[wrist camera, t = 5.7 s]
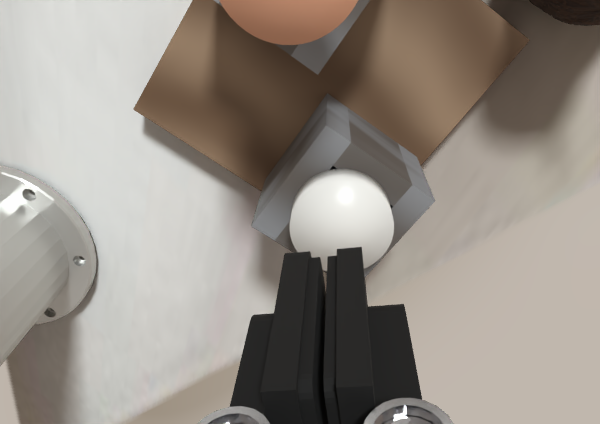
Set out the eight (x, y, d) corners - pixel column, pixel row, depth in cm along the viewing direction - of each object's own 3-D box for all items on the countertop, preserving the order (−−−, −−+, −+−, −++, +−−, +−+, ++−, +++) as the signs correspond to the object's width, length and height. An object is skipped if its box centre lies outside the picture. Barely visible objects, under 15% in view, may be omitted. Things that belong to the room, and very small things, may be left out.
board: (348, 232, 35) (352, 304, 27) (144, 100, 31) (89, 143, 24) (517, 34, 28) (579, 61, 21) (285, -155, 25) (266, -200, 18)
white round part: (348, 231, 30) (351, 289, 25) (280, 188, 29) (269, 238, 24) (400, 170, 28) (415, 219, 23) (330, 121, 27) (329, 161, 22)
